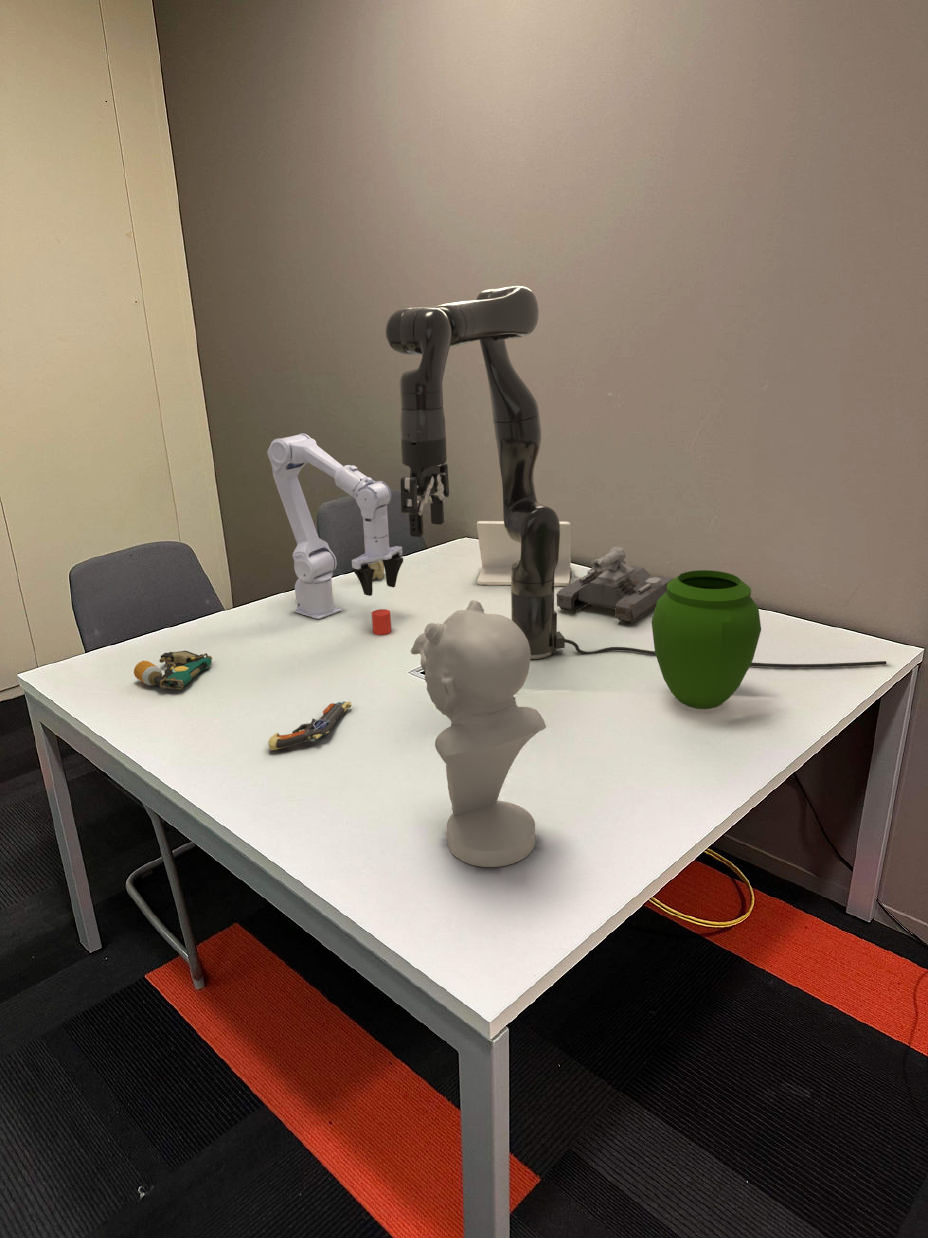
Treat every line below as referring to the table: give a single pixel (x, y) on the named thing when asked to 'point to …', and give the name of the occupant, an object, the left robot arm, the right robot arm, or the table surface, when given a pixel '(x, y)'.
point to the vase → (705, 636)
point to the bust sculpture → (481, 729)
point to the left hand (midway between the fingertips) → (379, 590)
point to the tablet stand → (514, 554)
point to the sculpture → (377, 568)
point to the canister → (381, 622)
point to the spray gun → (172, 669)
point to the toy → (614, 588)
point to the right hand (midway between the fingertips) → (427, 529)
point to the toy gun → (311, 727)
